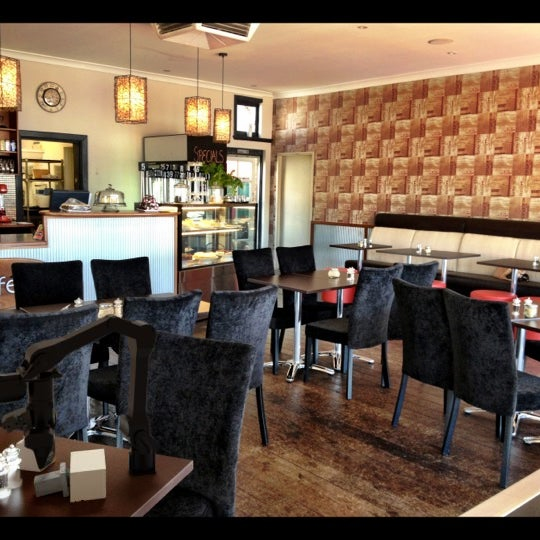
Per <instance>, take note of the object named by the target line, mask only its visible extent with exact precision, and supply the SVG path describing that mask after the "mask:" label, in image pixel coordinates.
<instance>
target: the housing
mask: <svg viewBox="0 0 540 540" xmlns="http://www.w3.org/2000/svg"><path fill="white" fill-rule="evenodd" d="M69 467H70V488H69V496H70V503H75V501H76V502H81V500H84V501H90V500H99V499H105V498H107V468H106V458H105V448H98V449H97V448H96V449H90V450H78V451H71V452H70V465H69Z"/></svg>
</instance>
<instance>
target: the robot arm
mask: <svg viewBox="0 0 540 540" xmlns="http://www.w3.org/2000/svg"><path fill="white" fill-rule="evenodd" d="M112 333H117V334H120V335H123V336H126V340H127V345H128V349H129V352H130V371H129V372H130V374H129V389H128V406H127V407H128V408H127V410H126V412H125V414H120V415H119V423H120V424H119V427H118V430H119V431H120V434H121V435H122V437H123V438H124V439H126V440H127V442H128V443H129V444H130V451H128V452H127V453H128V455H127V458H128V459H127V460H128V461H127V462H128V465H127V466H128V471H129V472H130V474H131V476H139V475H147V474H155V473H157V466H156V465H157V464H156V462H157V461H156V457H157V456H156V455H157V454H156V453H157V452H156V451H158V450H159V447H160V441H158V440H157V439H156V438H155V437H154V436H152V433H151V423H150V420H149V416H148V413H147V401H148V399H147V398H148V386H149V385H148V382H149V365H150V357H151V354H152V352H153V351H154V349H155V346H156V341H157V336H158V335H157V330H156V328H155V327H154V326H153V325H151V324H150V323H147V322H145V321H143V320H139V319H137V320H134V321H131V320H128V319H125V318H123V317H120V316H117V315H115V314H114V313H107V314H105V315H104V316H103V317H101V318H98V319H97V320H95V321H92V322H90V323H88V324H86V325H84V326H82V327H80V328H78V329H76V330H73V331H72V332H69V333H67V334H65V335H63V336H60V337H56V338H51V339H47V340H42V341H39V342H36V343H32V344H31V345H29V346H28V347H27V349H26V352H25V354H24V355H25V356H24V358H23V360H22V361H21V363H20V364H19V365H18V367H17V368H16V370H15V371H16V372H10V373H0V405H4V404H5V405H6V404H10V403H15V402H21V401H22V400H23V399H25V397H26V396H27V402H26V406H24V407H21V408H18V409H16V410H12V411H11V412H8V413H6V414H4V415H3V416H2V419H1V424H2V429H3V430H5V432H6V434H11V433H12V432H13V431H15V430H17V429H20V428H22V427H23V426H24V425H26V428H32V429H30V430H29V431H28V432H27V433H26V434H25V438H24V437H23V439H24V447H26V448H27V449H31V450H32V451H33V452H34V455H35V459H36V462H37V465H38V469H44V467H45V464H46V462H47V459H48V457H49V454H50V452H51V449H52V447H53V445H54V438H55V439H56V437H55V436H56V435H55V429H56V426H57V419H58V410H57V409H56V408H55V387H54V386H55V383H54V382H55V381H54V380H55V379H61V378H63V376H64V375H63V374H62V373H61V372H60V371H59V370H58V369H57V368H56V366H58V364H60V363H62V362H63V360H64V359H66V358H67V356H69V355H70V354H71V353H74V352H75V351H78V350H79V349H82V348H84V347H86V346H87V345H89V344H92V343H93V342H95V341H98V340H99V339H102V338H104V337H106V336H108V335H110V334H112ZM44 470H45V469H44Z"/></svg>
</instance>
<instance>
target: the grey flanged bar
mask: <svg viewBox="0 0 540 540" xmlns="http://www.w3.org/2000/svg"><path fill="white" fill-rule="evenodd" d="M59 463H60V464H59V470H55V471H50V472H48V473H43V474H38V475H35V476H34V480H33V481H34V482H33V486H34V491H35V494H36V498H38V497H43V496H46V495H51V494H54V493H57V492H61V491H62V494H63V498H66V497H70V468H67V465H66V464H67V463H66V462H65V461H64V462H59Z"/></svg>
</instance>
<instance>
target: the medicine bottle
mask: <svg viewBox="0 0 540 540" xmlns="http://www.w3.org/2000/svg"><path fill="white" fill-rule="evenodd" d="M22 427H23V432H22V433H23V439H21V440H19V441H18V442H17V443H16V444H15V449H16V448H19V449H20V455H19V457H20V458H21V459H22V462H21V464H20V469H19V470H21V471H30V472H37V473H41V472H42V471H44V470H45V469H47V468H48V467H49V466H51V465H52V464H54V462H56V437H55V438H54V445H53V447H52V449H51V452H50V454H49V457H48V459H47V462H46V464H45V467H44V469H38V465H37V462H36V459H35V455H34V452H33V451H32V450H31V449H27V448H26V447H24V438H25V434H26V433H27V432H28V431H29V430H30V429H32V428H26V425H24V426H22Z"/></svg>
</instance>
